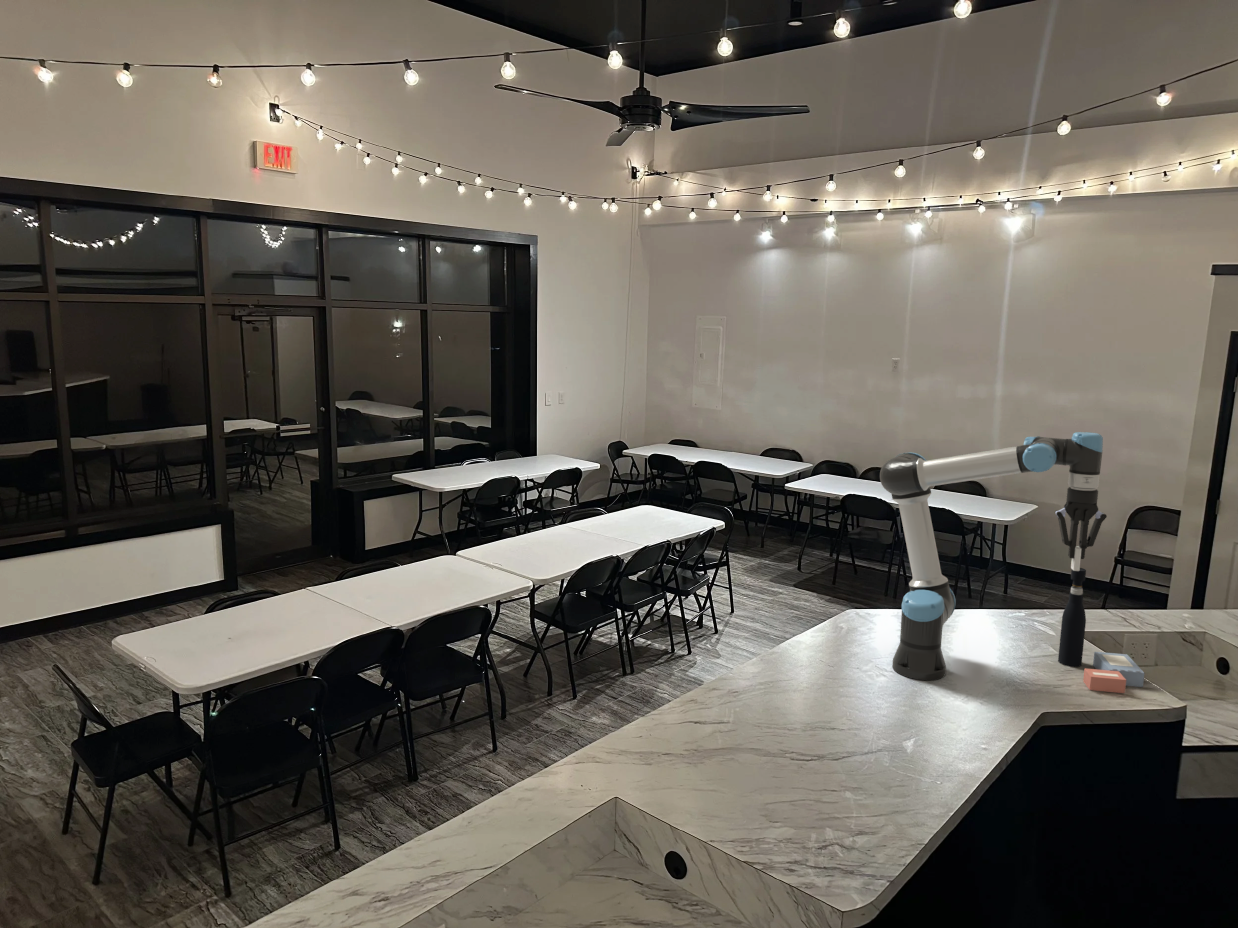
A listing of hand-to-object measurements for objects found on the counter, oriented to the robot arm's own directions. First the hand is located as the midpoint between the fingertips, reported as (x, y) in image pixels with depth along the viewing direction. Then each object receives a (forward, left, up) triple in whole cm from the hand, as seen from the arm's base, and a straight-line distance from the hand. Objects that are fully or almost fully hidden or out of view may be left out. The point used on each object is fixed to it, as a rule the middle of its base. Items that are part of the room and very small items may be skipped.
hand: (1075, 569), depth 234 cm
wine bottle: (+6, +17, -35) cm, 39 cm away
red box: (+10, 0, -34) cm, 36 cm away
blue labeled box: (+17, +10, -34) cm, 40 cm away
